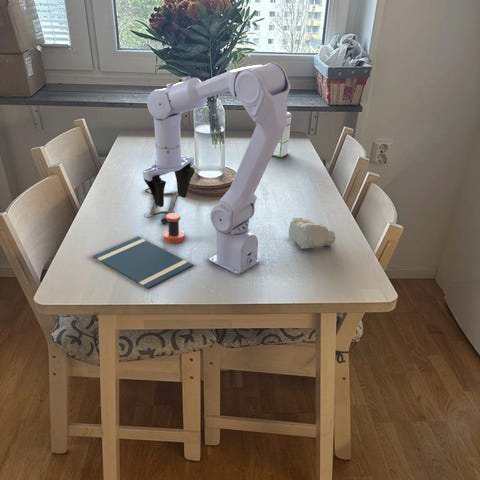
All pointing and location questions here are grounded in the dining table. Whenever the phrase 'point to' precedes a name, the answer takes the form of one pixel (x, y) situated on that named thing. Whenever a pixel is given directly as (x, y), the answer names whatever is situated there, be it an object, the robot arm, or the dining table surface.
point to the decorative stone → (310, 233)
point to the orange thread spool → (173, 229)
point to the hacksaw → (163, 211)
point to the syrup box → (283, 140)
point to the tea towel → (143, 262)
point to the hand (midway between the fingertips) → (171, 200)
